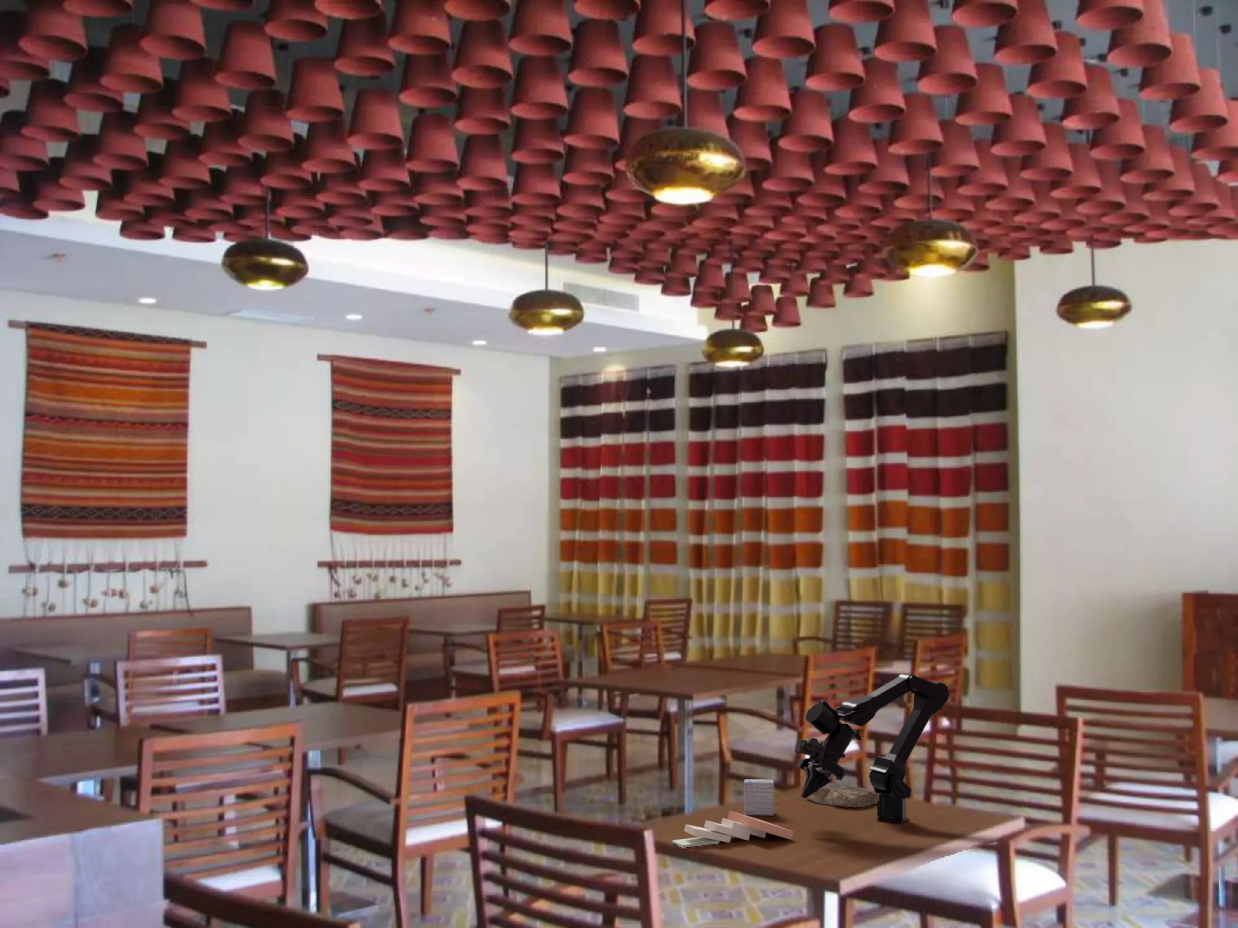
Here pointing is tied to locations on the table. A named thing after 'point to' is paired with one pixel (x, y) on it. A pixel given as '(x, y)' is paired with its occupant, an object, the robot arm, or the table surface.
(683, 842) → the sage domino
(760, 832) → the ivory domino
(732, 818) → the terracotta tile
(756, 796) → the medicine box
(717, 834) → the ivory domino
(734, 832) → the ivory domino
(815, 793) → the flat grey rock
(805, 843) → the table surface
